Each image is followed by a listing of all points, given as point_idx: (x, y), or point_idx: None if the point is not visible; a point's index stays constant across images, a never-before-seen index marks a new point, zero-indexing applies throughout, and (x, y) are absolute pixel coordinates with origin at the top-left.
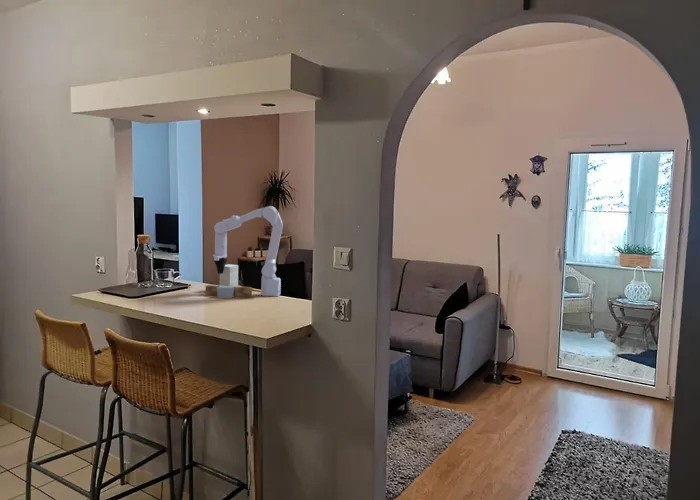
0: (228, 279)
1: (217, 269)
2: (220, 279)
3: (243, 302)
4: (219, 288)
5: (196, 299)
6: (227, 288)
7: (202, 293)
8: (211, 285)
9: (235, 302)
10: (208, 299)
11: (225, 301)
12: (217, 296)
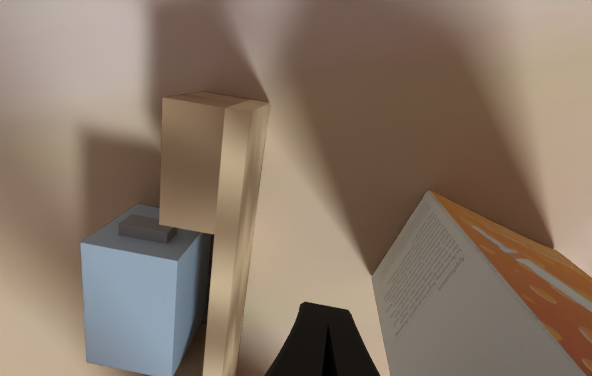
0: (395, 351)
1: (284, 349)
2: (461, 252)
3: (26, 370)
4: (88, 256)
5: (3, 44)
6: (88, 325)
7: (289, 43)
8: (218, 159)
9: (8, 330)
10: (38, 147)
11: (14, 272)
12: (133, 207)
